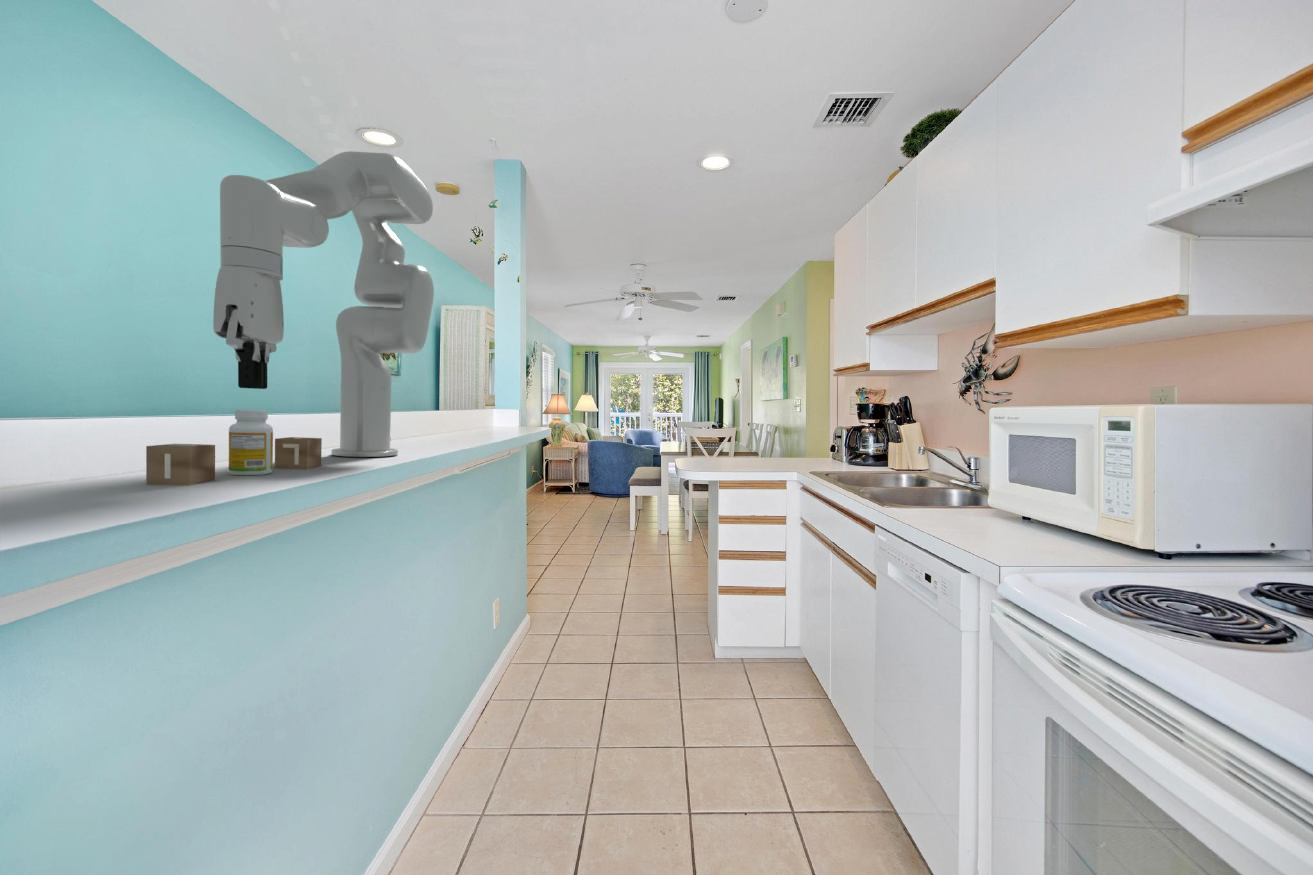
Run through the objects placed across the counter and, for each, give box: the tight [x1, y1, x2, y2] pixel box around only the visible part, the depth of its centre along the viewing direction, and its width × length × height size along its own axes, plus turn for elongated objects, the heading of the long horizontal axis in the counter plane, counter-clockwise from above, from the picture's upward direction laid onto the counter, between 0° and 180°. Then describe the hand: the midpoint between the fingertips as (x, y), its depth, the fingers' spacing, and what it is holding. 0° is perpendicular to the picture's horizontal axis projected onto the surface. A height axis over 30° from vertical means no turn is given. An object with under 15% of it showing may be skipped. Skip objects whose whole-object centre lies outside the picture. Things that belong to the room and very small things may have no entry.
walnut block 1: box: [145, 443, 216, 486], centre depth 73 cm, size 5×5×5 cm
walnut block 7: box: [274, 436, 323, 470], centre depth 93 cm, size 5×5×5 cm
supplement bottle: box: [228, 409, 274, 476], centre depth 83 cm, size 5×5×10 cm
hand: (252, 388), depth 83 cm, fingers closed
